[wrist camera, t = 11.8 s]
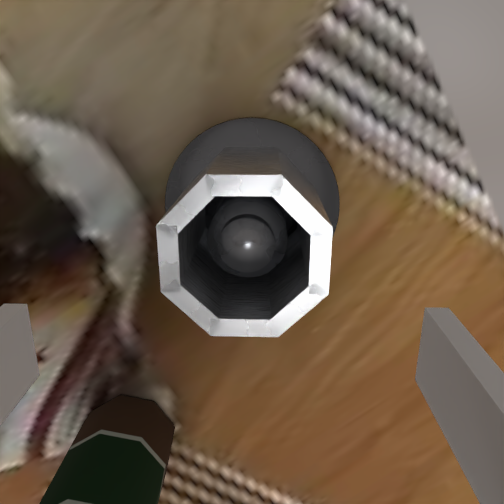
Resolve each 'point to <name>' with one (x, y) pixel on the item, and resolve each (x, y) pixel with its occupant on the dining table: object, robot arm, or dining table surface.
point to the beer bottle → (116, 456)
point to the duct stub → (252, 207)
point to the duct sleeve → (235, 287)
